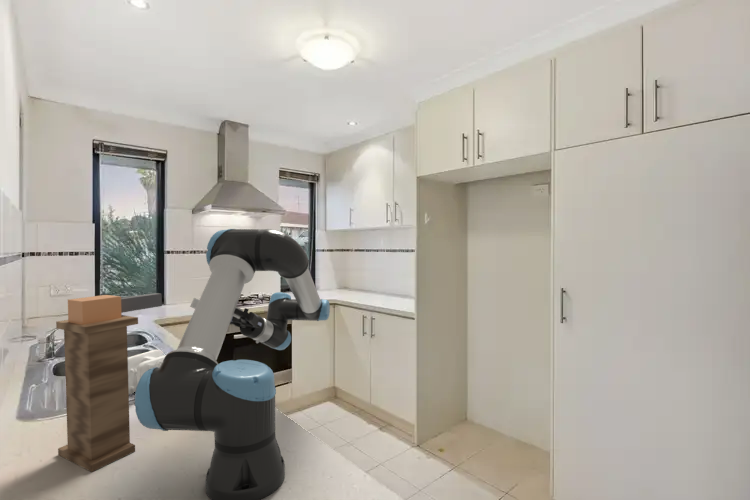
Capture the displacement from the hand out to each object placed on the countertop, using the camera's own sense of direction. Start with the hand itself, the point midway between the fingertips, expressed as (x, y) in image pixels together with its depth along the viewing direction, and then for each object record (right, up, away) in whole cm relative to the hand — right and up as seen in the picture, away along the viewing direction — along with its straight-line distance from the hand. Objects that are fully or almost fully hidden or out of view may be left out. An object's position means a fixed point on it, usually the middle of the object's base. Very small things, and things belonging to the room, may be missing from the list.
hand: (208, 304), depth 113 cm
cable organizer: (-23, -30, +13) cm, 40 cm away
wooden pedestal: (-15, -31, -23) cm, 41 cm away
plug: (-13, 0, -19) cm, 23 cm away
